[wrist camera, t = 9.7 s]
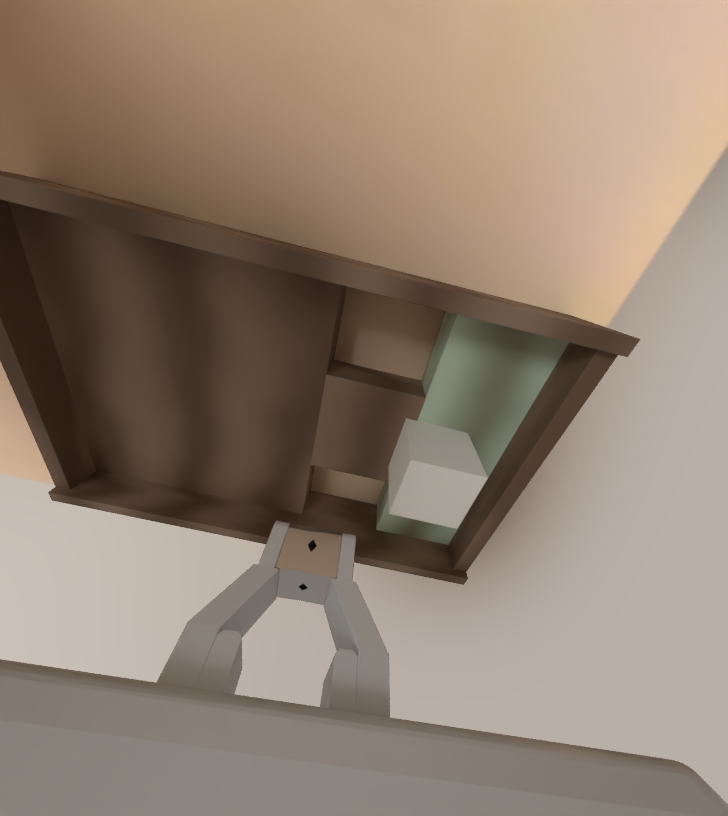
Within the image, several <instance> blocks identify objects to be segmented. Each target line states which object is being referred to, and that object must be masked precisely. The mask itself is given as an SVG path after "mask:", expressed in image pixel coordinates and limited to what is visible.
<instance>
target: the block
mask: <svg viewBox="0 0 728 816" xmlns="http://www.w3.org/2000/svg"><path fill="white" fill-rule="evenodd" d="M388 468H389V514H392V515H397V516H401V517H406V518H410V519H415V520H419V521H424V522H428V523H433V524H437V525H442V526H447V527H451V528H456V529H457V528H458V526H459V525H460V523H461V521H462V520H463V518H464V516H465V515H466V513H467V512H468V510H469V508H470V507H471V505H472V503H473V502H474V500H475V498H476V497H477V495H478V493H479V492H480V490H481V488H482V487H483V485H484V484H485V482H486V480H487V479H488V477H487V474H486V472H485V470H484V468H483V466H482V463H481V461H480V459H479V457H478V455H477V452H476V450H475V448H474V446H473V443H472V441H471V439H470V437H469V435H468V433H466V432H462V431H458V430H453V429H449V428H445V427H441V426H437V425H432V424H428V423H424V422H420V421H416V420H411V419H407V418H406V419H405V422H404V425H403V428H402V430H401V433H400V436H399V439H398V442H397V444H396V447H395V450H394V453H393V455H392V458H391V461H390V464H389V466H388Z"/></svg>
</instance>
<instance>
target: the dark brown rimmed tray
mask: <svg viewBox="0 0 728 816" xmlns="http://www.w3.org/2000/svg"><path fill="white" fill-rule="evenodd" d="M346 287H351V288H355V289H359V290H363V291H367V292H371V293H375V294H379V295H383V296H387V297H391V298H395V299H399V300H403V301H407V302H411V303H415V304H419V305H423V306H426V307H430V308H434V309H438V310H442V311H446V313H445V316H444V319H443V322H442V325H441V327H440V330H439V333H438V336H437V339H436V342H435V344H434V347H433V350H432V353H431V356H430V358H429V361H428V364H427V367H426V370H425V372H424V375H423V378H422V381H419V380H415V379H411V378H407V377H402V376H398V375H394V374H390V373H386V372H381V371H377V370H373V369H369V368H365V367H360V366H356V365H352V364H348V363H344V362H339V361H335V360H333V359H334V354H335V348H336V343H337V337H338V331H339V326H340V320H341V315H342V309H343V304H344V298H345V292H346ZM639 340H640V339H638V338H635V337H632V336H629V335H626V334H623V333H620V332H618V331H615V330H612V329H609V328H606V327H603V326H600V325H597V324H594V323H591V322H588V321H585V320H582V319H580V318H577V317H574V316H570V315H567V314H563V313H559V312H555V311H551V310H547V309H543V308H539V307H535V306H531V305H528V304H524V303H520V302H516V301H512V300H508V299H504V298H500V297H496V296H492V295H489V294H485V293H481V292H477V291H473V290H469V289H465V288H461V287H457V286H453V285H450V284H446V283H442V282H438V281H434V280H430V279H426V278H422V277H418V276H414V275H411V274H407V273H403V272H399V271H395V270H391V269H387V268H383V267H379V266H376V265H372V264H368V263H364V262H360V261H356V260H352V259H348V258H344V257H340V256H337V255H333V254H329V253H325V252H321V251H317V250H313V249H309V248H305V247H301V246H298V245H294V244H290V243H286V242H282V241H278V240H274V239H270V238H266V237H262V236H259V235H255V234H251V233H247V232H243V231H239V230H235V229H231V228H227V227H223V226H220V225H216V224H212V223H208V222H204V221H200V220H196V219H192V218H188V217H184V216H181V215H177V214H173V213H169V212H165V211H161V210H157V209H153V208H149V207H145V206H142V205H138V204H134V203H130V202H126V201H122V200H118V199H114V198H110V197H106V196H103V195H99V194H95V193H91V192H87V191H83V190H79V189H75V188H71V187H68V186H64V185H60V184H56V183H52V182H48V181H44V180H40V179H36V178H32V177H27V176H22V175H17V174H13V173H8V172H3V171H0V361H1V363H2V365H3V368H4V370H5V372H6V374H7V377H8V379H9V381H10V384H11V386H12V388H13V390H14V393H15V395H16V397H17V400H18V402H19V404H20V406H21V409H22V411H23V413H24V416H25V418H26V420H27V422H28V425H29V427H30V429H31V431H32V434H33V436H34V438H35V441H36V443H37V445H38V447H39V450H40V452H41V454H42V457H43V459H44V461H45V463H46V466H47V468H48V470H49V473H50V475H51V477H52V479H53V482H54V484H55V486H56V487H55V488H54V489H52V490H51V491H49V495H50V497H51V499H52V500H53V501H59V502H63V503H68V504H73V505H78V506H82V507H88V508H92V509H97V510H102V511H107V512H112V513H117V514H122V515H127V516H131V517H136V518H141V519H146V520H151V521H156V522H160V523H165V524H170V525H175V526H180V527H185V528H190V529H195V530H200V531H205V532H209V533H214V534H219V535H224V536H229V537H234V538H239V539H243V540H249V541H253V542H258V543H263V544H267V541H268V538H269V536H270V533H271V531H272V528H273V525H274V524H275V522H276V521H281V522H287V523H291V524H296V525H301V526H306V527H311V528H318V529H324V530H330V531H336V532H342V533H345V534H351V535H355V536H356V545H355V556H354V562H356V563H361V564H365V565H370V566H376V567H380V568H385V569H390V570H396V571H400V572H405V573H410V574H414V575H419V576H424V577H429V578H434V579H439V580H444V581H448V582H453V583H458V584H464V583H465V582H466V580H467V579H468V578H467V573H466V571H467V570H468V569H469V567H470V566H471V564H472V563H473V561H474V560H475V559H476V557H477V555H478V554H479V553H480V551H481V550H482V549H483V547H484V546H485V544H486V543H487V541H488V540H489V539H490V537H491V536H492V534H493V533H494V531H495V530H496V529H497V527H498V526H499V524H500V523H501V521H502V520H503V519H504V517H505V516H506V514H507V513H508V511H509V510H510V509H511V507H512V506H513V504H514V503H515V501H516V500H517V499H518V497H519V496H520V494H521V493H522V491H523V490H524V489H525V487H526V486H527V484H528V483H529V481H530V480H531V479H532V477H533V476H534V474H535V473H536V471H537V470H538V469H539V467H540V466H541V464H542V463H543V461H544V460H545V459H546V457H547V456H548V454H549V453H550V451H551V450H552V449H553V447H554V446H555V444H556V443H557V442H558V440H559V439H560V437H561V436H562V434H563V433H564V432H565V430H566V429H567V427H568V426H569V424H570V423H571V422H572V420H573V419H574V417H575V416H576V414H577V413H578V411H579V410H580V409H581V407H582V406H583V404H584V403H585V402H586V400H587V399H588V397H589V396H590V394H591V393H592V392H593V390H594V389H595V387H596V386H597V384H598V383H599V382H600V380H601V379H602V377H603V376H604V374H605V373H606V372H607V370H608V369H609V367H610V366H611V364H612V363H613V362H614V360H615V359H616V357H617V356H618V355H621V356H625V357H628V356H629V354H630V353H631V351H632V350H633V349H634V347H635V346H636V344H637V343H638V342H639ZM406 418H407V419H411V420H416V421H420V422H424V423H428V424H432V425H437V426H441V427H445V428H449V429H453V430H458V431H462V432H466V433H468V435H469V437H470V439H471V441H472V443H473V446H474V448H475V450H476V452H477V455H478V457H479V459H480V461H481V463H482V466H483V468H484V470H485V472H486V474H487V477H488V479H487V480H486V482H485V484H484V485H483V487H482V488H481V490H480V492H479V493H478V495H477V497H476V498H475V500H474V502H473V503H472V505H471V507H470V508H469V510H468V512H467V513H466V515H465V516H464V518H463V520H462V521H461V523H460V525H459V526H458V528H457V529H456V528H451V527H447V526H442V525H437V524H433V523H428V522H424V521H419V520H415V519H410V518H406V517H401V516H397V515H392V514H389V468H388V466H389V464H390V461H391V458H392V455H393V453H394V450H395V447H396V444H397V442H398V439H399V436H400V433H401V430H402V428H403V425H404V422H405V419H406ZM314 466H318V467H323V468H327V469H332V470H336V471H341V472H345V473H350V474H354V475H359V476H364V477H368V478H373V479H377V480H382V481H386V482H385V485H384V487H383V490H382V493H381V496H380V499H379V501H378V504H377V505H374V504H369V503H364V502H360V501H355V500H350V499H346V498H341V497H336V496H332V495H327V494H322V493H318V492H313V491H310V488H311V482H312V476H313V471H314Z"/></svg>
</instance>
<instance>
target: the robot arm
mask: <svg viewBox="0 0 728 816" xmlns="http://www.w3.org/2000/svg"><path fill="white" fill-rule="evenodd" d="M355 545H356V536H355V535H351V534H345V533H342V532H336V531H330V530H324V529H318V528H311V527H306V526H301V525H296V524H291V523H287V522H281V521H276V522H275V524H274V525H273V528H272V531H271V533H270V536H269V538H268V541H267V544H266V546H265V549H264V551H263V554H262V557H261V559H260V562H259V564H258V565H255V564H254V565H253V566H252V567H250V568H249V569H248V570H247V571H246V572H245V573H244V574H242V575H241V576H240V577H239V578H238V579H237V580H235V581H234V582H233V583H232V584H231V585H230V586H229V587H227V588H226V589H225V590H224V591H223V592H222V593H220V594H219V595H218V596H217V597H216V598H215V599H213V600H212V601H211V602H210V603H209V604H208V605H207V606H206V607H204V608H203V609H202V610H201V611H200V612H198V613H197V614H196V615H195V616H194V617H193V618H192V619H190V620H189V621H188V623H187V624H186V626H185V628H184V630H183V632H182V634H181V636H180V638H179V640H178V642H177V644H176V646H175V648H174V650H173V652H172V654H171V655H170V658H169V659H168V661H167V663H166V665H165V667H164V669H163V671H162V673H161V675H160V677H159V679H158V681H157V683H154V682H147V681H141V680H134V679H128V678H121V677H114V676H107V675H101V674H94V673H88V672H81V671H74V670H68V669H61V668H54V667H47V666H41V665H34V664H27V663H21V662H14V661H7V660H1V659H0V816H728V804H727V803H726V802H725V801H724V800H723V799H722V798H721V797H720V796H719V795H718V794H717V793H716V792H715V791H714V790H713V789H712V788H711V787H710V786H709V785H708V784H707V783H706V782H705V781H704V780H703V779H702V778H701V777H700V776H699V775H698V774H697V773H696V772H695V771H694V770H692V769H691V768H690V767H688V766H686V765H684V764H683V763H680V762H677V761H674V760H668V759H663V758H656V757H650V756H643V755H636V754H629V753H623V752H616V751H609V750H602V749H596V748H589V747H582V746H576V745H569V744H563V743H555V742H549V741H543V740H536V739H529V738H522V737H516V736H509V735H502V734H496V733H489V732H482V731H475V730H469V729H462V728H455V727H449V726H442V725H435V724H428V723H422V722H415V721H409V720H402V719H394V718H390V689H389V654H388V652H387V650H386V647H385V645H384V643H383V641H382V638H381V636H380V634H379V632H378V630H377V627H376V625H375V623H374V621H373V619H372V616H371V614H370V612H369V610H368V607H367V605H366V603H365V601H364V599H363V596H362V594H361V592H360V590H359V587H358V585H357V583H356V582H352V579H353V567H354V556H355ZM276 597H281V598H288V599H296V600H301V601H306V602H311V603H316V604H321V605H324V609H325V613H326V616H327V619H328V623H329V626H330V630H331V633H332V637H333V640H334V643H335V647H336V650H337V652H336V653H335V656H334V658H333V661H332V663H331V665H330V668H329V670H328V672H327V675H326V677H325V680H324V683H323V690H322V697H321V704H320V707H315V706H307V705H301V704H295V703H287V702H282V701H274V700H268V699H261V698H254V697H247V696H241V695H235V694H234V693H235V690H236V687H237V683H238V680H239V677H240V674H241V671H242V637H243V636H244V635H245V634H246V632H247V631H248V630H249V629H250V628H251V627H252V626H253V624H254V623H255V622H256V621H257V620H258V619H259V617H260V616H261V615H262V614H263V613H264V612H265V611H266V610H267V608H268V607H269V606H270V605H271V604H272V603H273V602H274V600H275V599H276Z"/></svg>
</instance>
